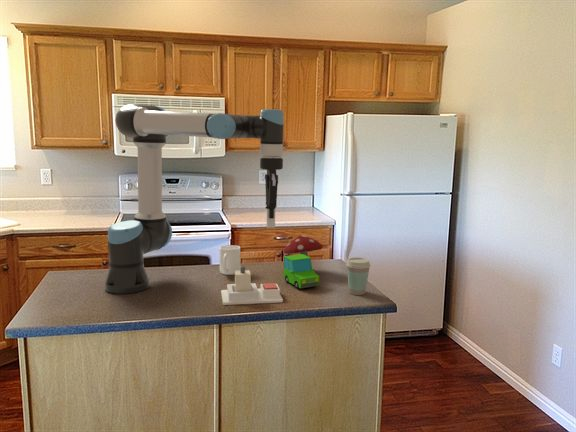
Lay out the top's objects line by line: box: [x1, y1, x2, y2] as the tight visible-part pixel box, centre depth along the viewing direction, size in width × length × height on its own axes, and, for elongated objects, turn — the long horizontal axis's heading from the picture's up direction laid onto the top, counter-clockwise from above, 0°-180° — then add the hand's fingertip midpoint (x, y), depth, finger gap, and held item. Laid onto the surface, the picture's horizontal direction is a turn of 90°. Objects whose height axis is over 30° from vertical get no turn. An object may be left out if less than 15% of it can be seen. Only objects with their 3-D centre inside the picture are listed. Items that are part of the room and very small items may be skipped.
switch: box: [262, 282, 277, 290], centre depth 170 cm, size 4×5×2 cm
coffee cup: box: [345, 257, 371, 296], centre depth 175 cm, size 9×8×12 cm
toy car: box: [283, 253, 320, 290], centre depth 183 cm, size 10×13×10 cm
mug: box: [219, 244, 241, 276], centre depth 195 cm, size 12×8×10 cm
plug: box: [234, 265, 252, 292], centre depth 168 cm, size 5×5×10 cm
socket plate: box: [220, 282, 284, 306], centre depth 169 cm, size 20×13×3 cm, turn 100°
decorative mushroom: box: [283, 234, 324, 257], centre depth 199 cm, size 16×16×15 cm
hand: (270, 227), depth 166 cm, fingers closed
